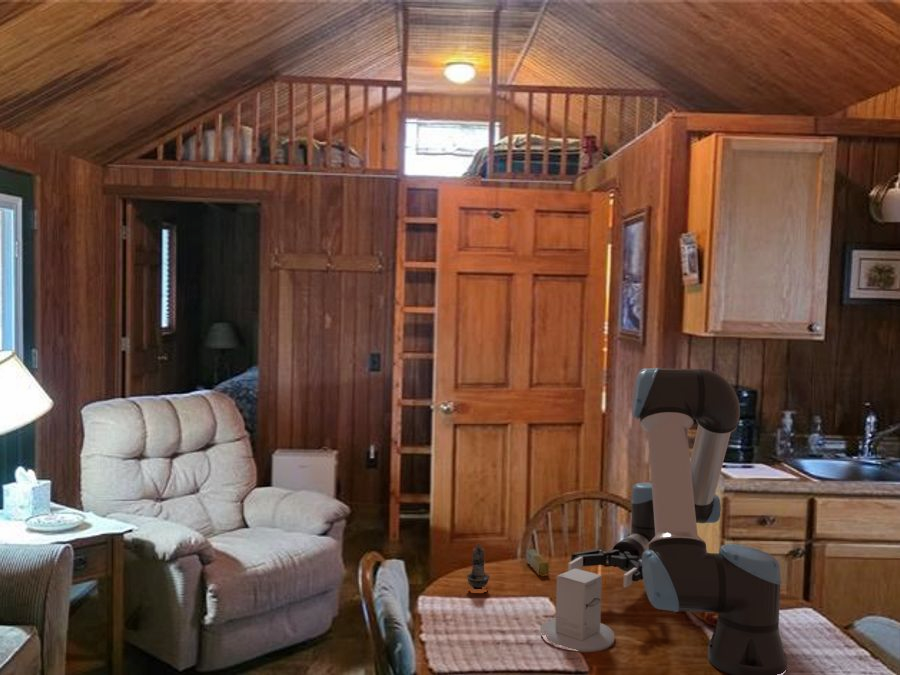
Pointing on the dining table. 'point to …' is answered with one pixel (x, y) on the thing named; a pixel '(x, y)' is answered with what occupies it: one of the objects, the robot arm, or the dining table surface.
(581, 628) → the supplement box
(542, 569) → the medication box
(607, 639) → the plate
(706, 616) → the croissant
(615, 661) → the dining table surface
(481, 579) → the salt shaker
